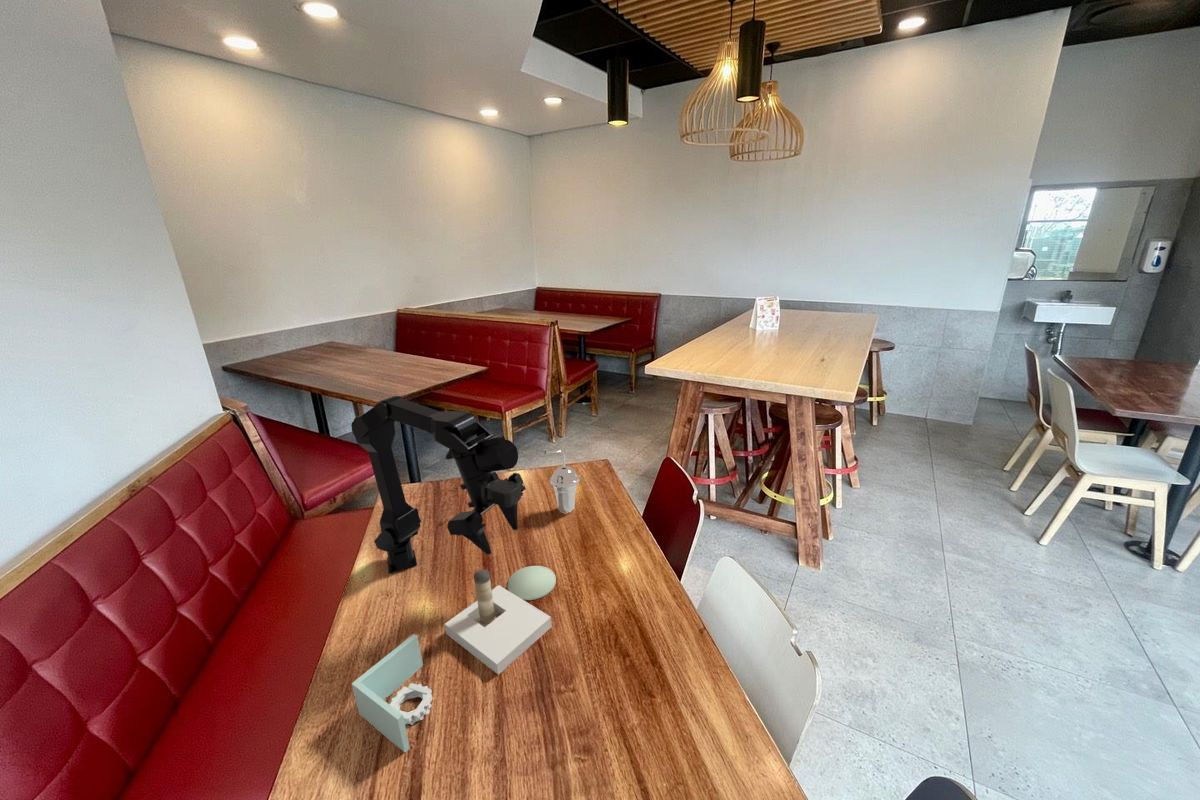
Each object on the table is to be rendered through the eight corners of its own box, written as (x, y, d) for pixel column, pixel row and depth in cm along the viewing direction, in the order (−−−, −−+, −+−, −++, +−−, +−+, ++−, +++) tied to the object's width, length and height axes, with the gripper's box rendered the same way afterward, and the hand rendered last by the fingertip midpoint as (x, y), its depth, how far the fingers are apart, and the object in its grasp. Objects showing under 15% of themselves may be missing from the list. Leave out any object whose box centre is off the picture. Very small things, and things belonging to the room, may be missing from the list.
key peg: (472, 624, 98) (465, 576, 94) (489, 611, 101) (483, 564, 97) (486, 634, 95) (479, 585, 91) (503, 620, 98) (497, 572, 94)
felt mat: (502, 576, 111) (501, 575, 111) (545, 562, 116) (545, 560, 116) (516, 606, 102) (515, 604, 102) (563, 589, 106) (563, 587, 106)
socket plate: (446, 633, 95) (444, 624, 95) (499, 594, 106) (498, 584, 105) (498, 674, 86) (497, 664, 85) (551, 626, 96) (550, 616, 95)
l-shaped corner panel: (405, 755, 73) (397, 719, 71) (360, 717, 79) (351, 683, 77) (464, 694, 83) (459, 661, 81) (419, 665, 89) (413, 633, 87)
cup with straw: (580, 518, 134) (577, 453, 128) (548, 518, 134) (543, 454, 128) (581, 502, 142) (578, 441, 136) (551, 502, 142) (547, 441, 136)
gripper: (474, 491, 85) (504, 567, 87) (531, 450, 100) (556, 515, 103) (432, 497, 90) (462, 568, 93) (493, 457, 106) (517, 519, 109)
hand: (502, 541), depth 99 cm, fingers open, 9 cm apart
